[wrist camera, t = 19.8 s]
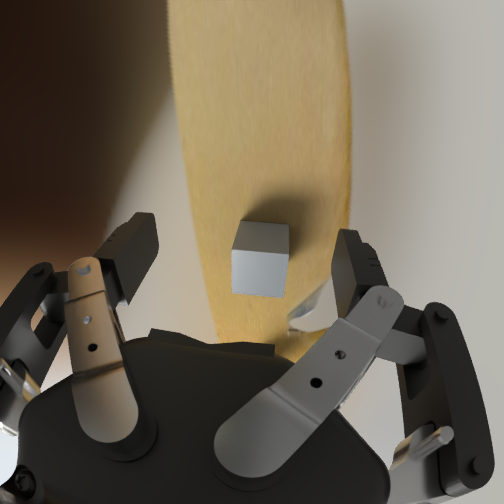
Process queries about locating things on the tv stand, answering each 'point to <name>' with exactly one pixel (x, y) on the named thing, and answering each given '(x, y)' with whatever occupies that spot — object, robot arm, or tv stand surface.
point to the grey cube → (260, 259)
